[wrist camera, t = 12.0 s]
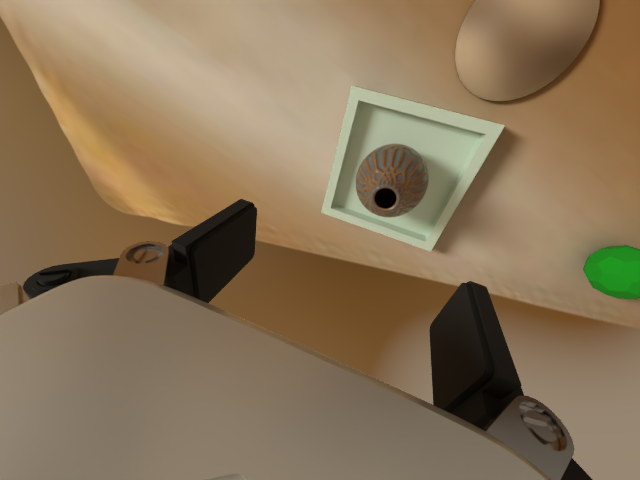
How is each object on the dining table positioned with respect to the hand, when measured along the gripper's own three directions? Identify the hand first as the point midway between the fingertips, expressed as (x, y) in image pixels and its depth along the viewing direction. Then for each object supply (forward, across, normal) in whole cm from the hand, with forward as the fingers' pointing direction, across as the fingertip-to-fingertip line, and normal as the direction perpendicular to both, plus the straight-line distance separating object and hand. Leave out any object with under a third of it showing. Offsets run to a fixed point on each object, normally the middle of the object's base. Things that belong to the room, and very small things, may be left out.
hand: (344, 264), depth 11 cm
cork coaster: (+20, -6, -12) cm, 25 cm away
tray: (+20, -1, +1) cm, 20 cm away
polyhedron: (+20, -24, +3) cm, 32 cm away
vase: (+20, -1, +1) cm, 20 cm away
